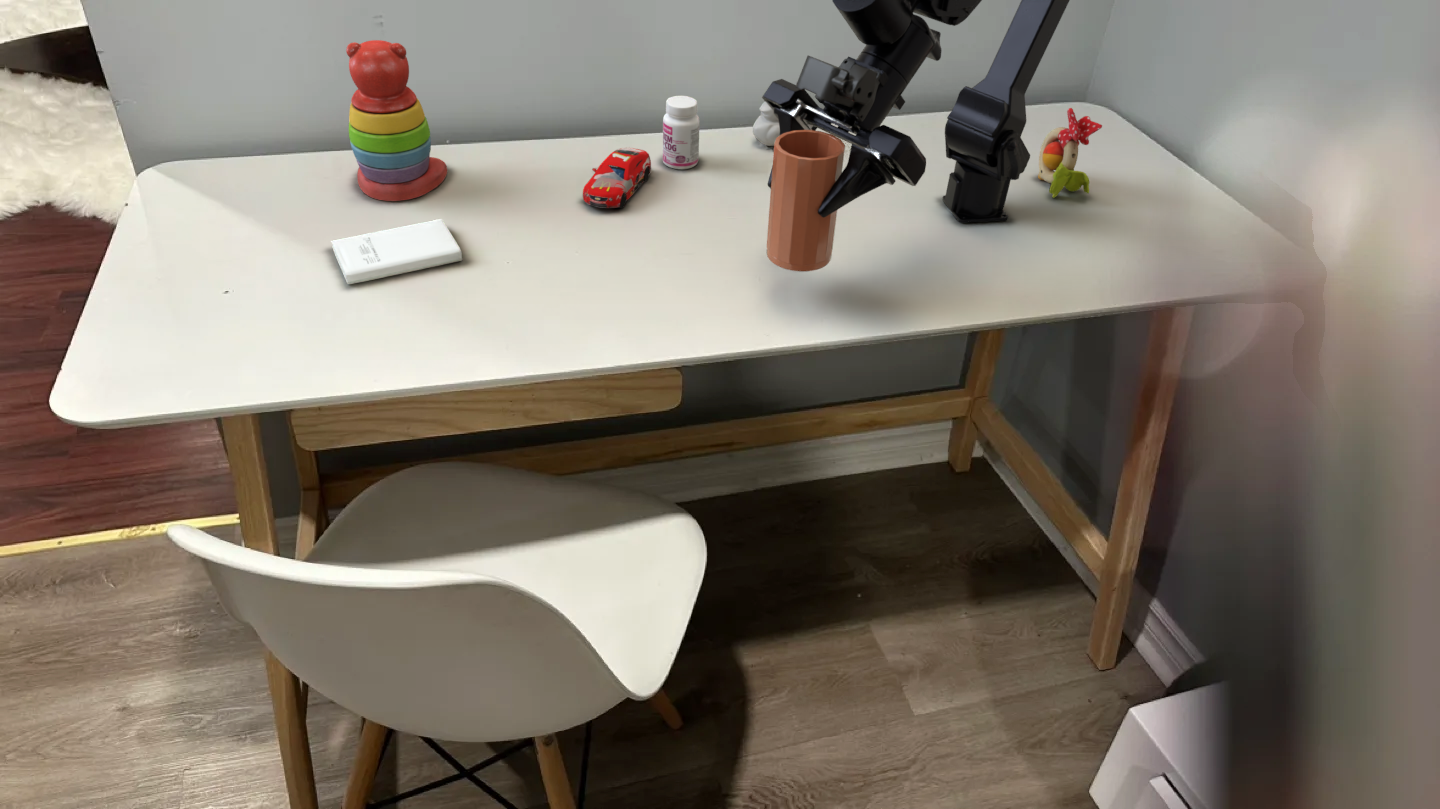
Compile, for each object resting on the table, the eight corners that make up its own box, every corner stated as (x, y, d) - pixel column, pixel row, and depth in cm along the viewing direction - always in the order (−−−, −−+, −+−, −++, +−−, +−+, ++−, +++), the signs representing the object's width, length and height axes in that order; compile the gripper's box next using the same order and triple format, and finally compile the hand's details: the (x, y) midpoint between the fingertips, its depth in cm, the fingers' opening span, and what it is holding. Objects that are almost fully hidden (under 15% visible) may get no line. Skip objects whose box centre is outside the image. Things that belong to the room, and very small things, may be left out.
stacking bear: (450, 167, 129) (431, 27, 118) (435, 204, 121) (413, 58, 110) (366, 164, 129) (338, 24, 118) (345, 201, 121) (313, 55, 110)
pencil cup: (804, 232, 110) (815, 124, 102) (844, 260, 106) (859, 149, 98) (753, 249, 107) (760, 138, 99) (793, 278, 102) (804, 165, 94)
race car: (617, 217, 121) (616, 186, 118) (576, 208, 122) (574, 178, 120) (658, 172, 131) (658, 143, 128) (620, 164, 132) (619, 136, 129)
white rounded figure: (745, 137, 140) (748, 81, 135) (788, 132, 142) (793, 77, 137) (759, 153, 136) (764, 96, 131) (803, 148, 138) (809, 92, 133)
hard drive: (463, 262, 111) (348, 286, 106) (442, 229, 117) (332, 250, 112) (461, 249, 110) (345, 273, 105) (441, 217, 116) (330, 238, 111)
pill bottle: (656, 165, 132) (656, 104, 127) (671, 152, 136) (672, 91, 130) (689, 173, 131) (690, 111, 125) (703, 159, 134) (706, 98, 129)
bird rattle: (1019, 197, 134) (1060, 200, 126) (1019, 111, 131) (1061, 109, 122) (1059, 192, 136) (1102, 196, 127) (1060, 107, 132) (1105, 105, 124)
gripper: (782, -3, 99) (694, 130, 100) (927, 53, 88) (826, 201, 89) (829, 60, 108) (748, 181, 109) (966, 117, 97) (874, 251, 98)
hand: (794, 201), depth 101 cm, fingers closed on pencil cup, 7 cm apart
